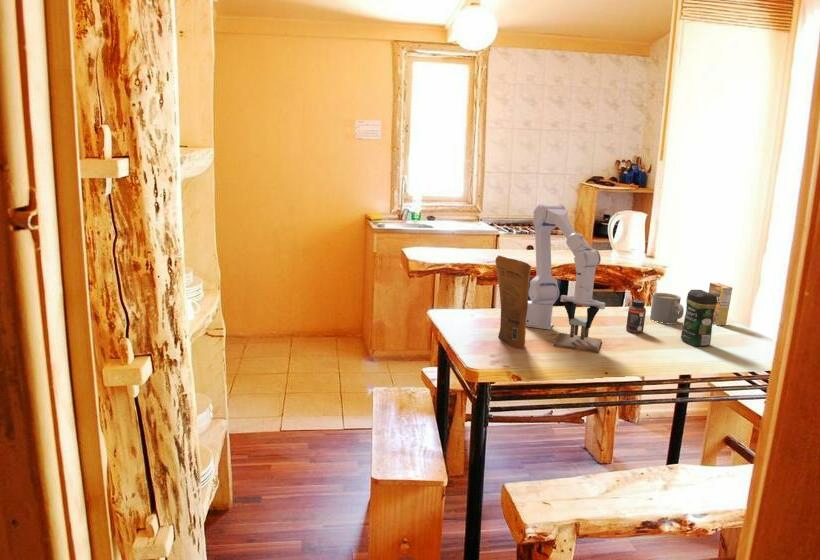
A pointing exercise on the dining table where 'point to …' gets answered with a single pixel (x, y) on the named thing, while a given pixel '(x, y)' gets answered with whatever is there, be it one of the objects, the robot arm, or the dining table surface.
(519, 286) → the pancake mix bag
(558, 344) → the walnut board
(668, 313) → the coffee mug
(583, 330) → the stool
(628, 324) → the supplement bottle
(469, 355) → the dining table surface
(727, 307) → the candy box
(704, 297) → the coffee jar
